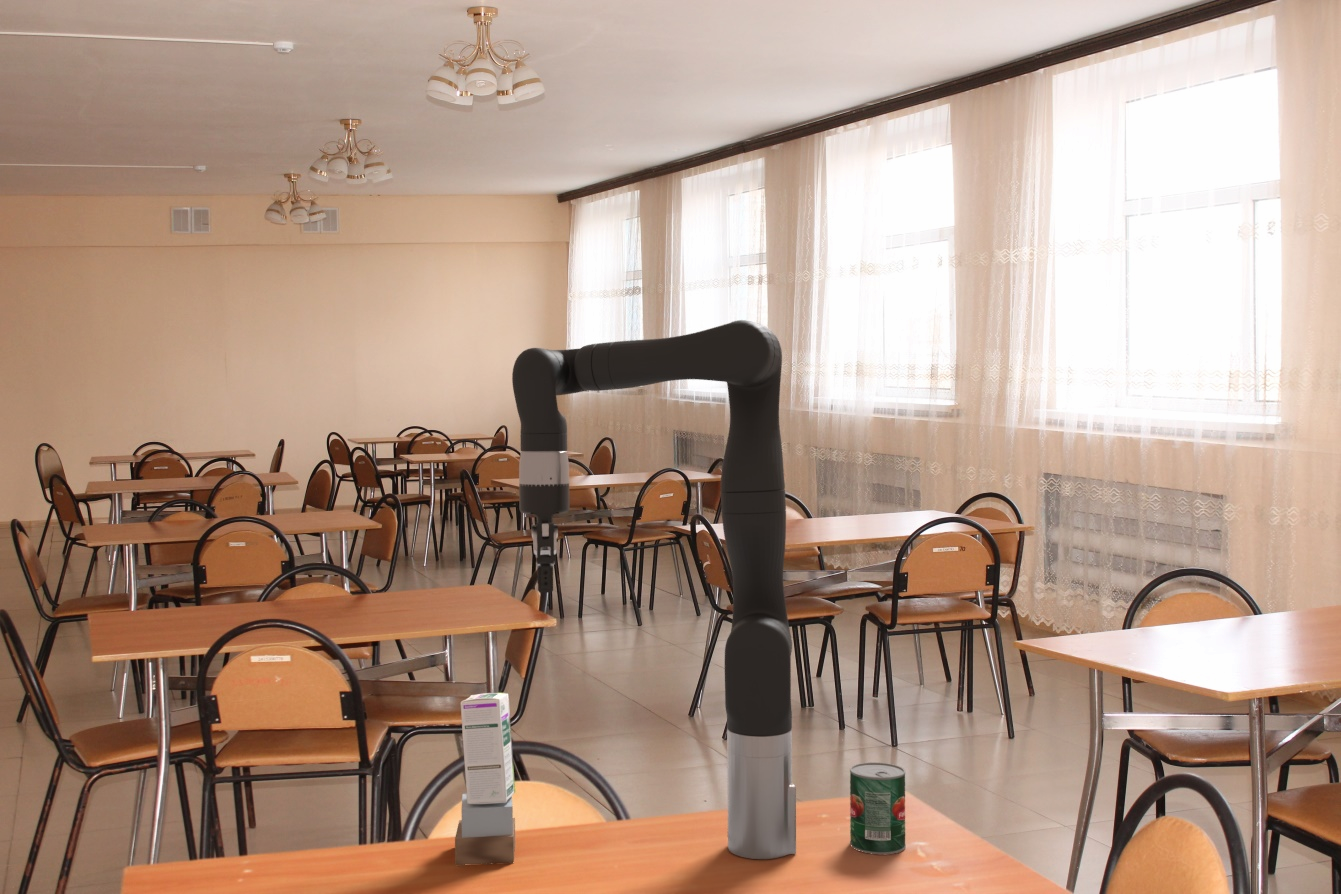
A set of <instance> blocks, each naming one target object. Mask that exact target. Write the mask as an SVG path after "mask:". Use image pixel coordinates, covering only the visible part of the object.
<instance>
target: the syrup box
mask: <svg viewBox="0 0 1341 894" xmlns="http://www.w3.org/2000/svg"><path fill="white" fill-rule="evenodd" d="M460 712H461V727H462V731H461V732H462V745H463V746H462V747H463V748H462V749H463V758H464V775H465V787H466V788H465V790H466V791H465V792H466V793H465V794H467V803H468V804H493V803H506V802H507V800H508V799H509V798H510V797H511V796H512V797H513V796H514V794H515V793H516V785H515V784H516V783H515V781H516V780H515V772H514V771H515V770H514V769H515V768H514V756H513V755H514V754H513V742H512V730H511V729H512V726H511V716H510V715H511V714H510V713H511V712H510V699H509V693H507V692H487V693H486V692H484V693H478V694H471V695H469V697H467V698H465V699H464V700H462V701H460Z"/></svg>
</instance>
